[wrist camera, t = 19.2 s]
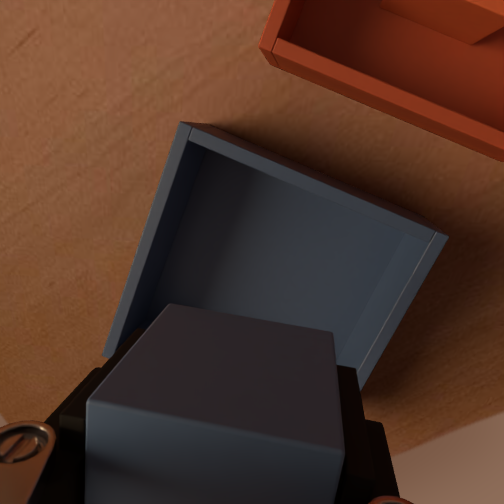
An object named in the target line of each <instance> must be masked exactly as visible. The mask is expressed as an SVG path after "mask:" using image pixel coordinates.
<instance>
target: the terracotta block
mask: <svg viewBox="0 0 504 504" xmlns="http://www.w3.org/2000/svg"><path fill="white" fill-rule="evenodd" d="M379 7H380V8H382V9H384V10H387V11H389V12H391V13H394V14H396V15H399V16H401V17H404V18H406V19H408V20H411V21H413V22H416V23H418V24H420V25H423V26H425V27H428V28H430V29H433V30H435V31H437V32H440V33H442V34H445V35H447V36H449V37H452V38H454V39H457V40H459V41H461V42H464V43H466V44H469V45H473V44H475V43H476V42H478V41H480V40H482V39H483V38H485V37H487V36H489V35H490V34H492V33H494V32H496V31H497V30H499V29H501V28H503V27H504V0H382V1H381V3H380V6H379Z"/></svg>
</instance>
